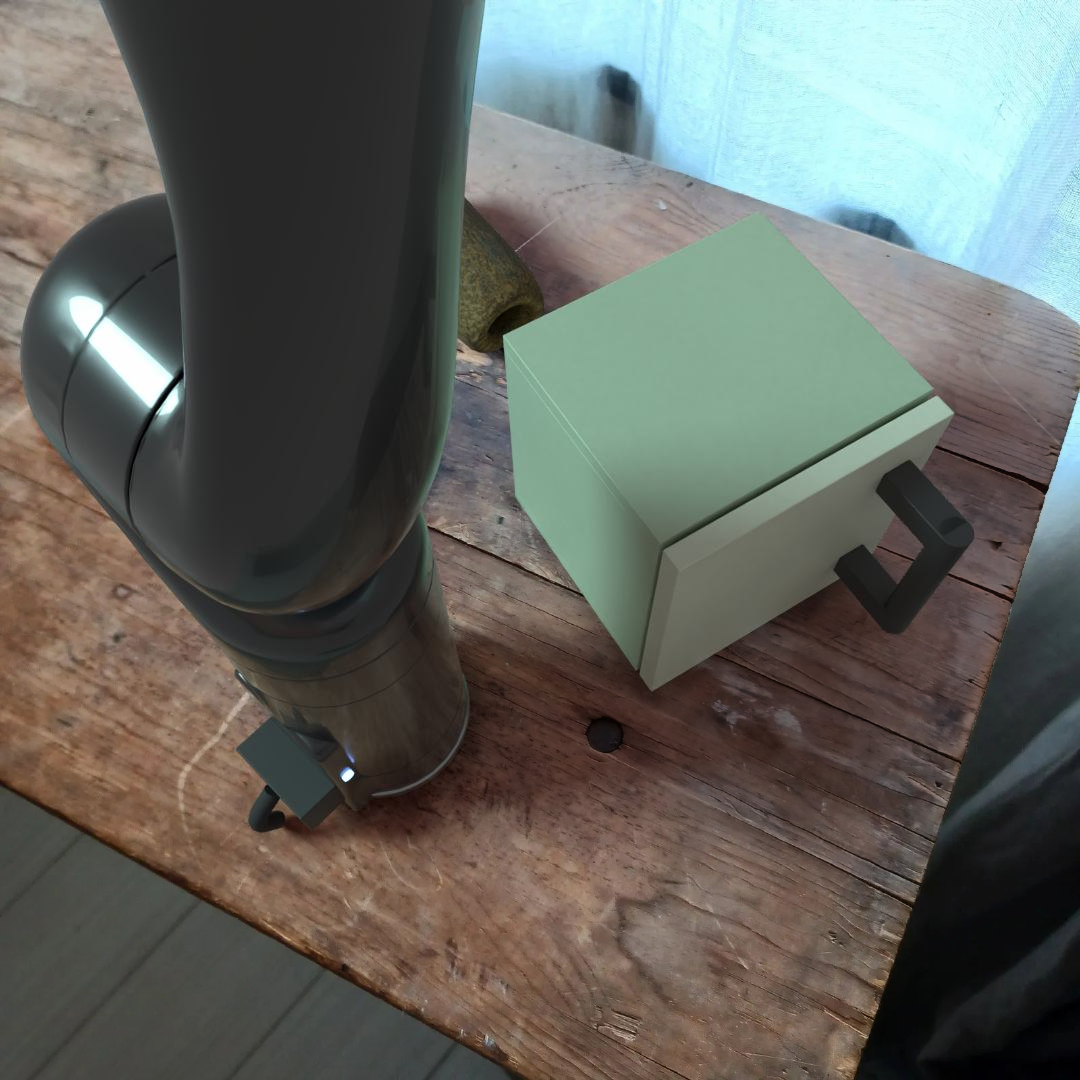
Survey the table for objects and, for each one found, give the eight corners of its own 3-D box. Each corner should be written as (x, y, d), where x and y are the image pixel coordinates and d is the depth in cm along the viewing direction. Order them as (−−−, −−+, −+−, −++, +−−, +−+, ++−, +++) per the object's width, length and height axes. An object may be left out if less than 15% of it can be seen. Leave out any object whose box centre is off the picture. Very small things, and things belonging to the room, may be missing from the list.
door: (924, 627, 57) (1032, 491, 44) (703, 767, 53) (748, 664, 40) (854, 545, 59) (937, 394, 46) (638, 674, 56) (662, 549, 43)
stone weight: (344, 249, 71) (324, 173, 65) (424, 201, 73) (412, 123, 67) (479, 382, 65) (471, 312, 59) (562, 325, 67) (562, 252, 61)
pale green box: (851, 543, 59) (935, 388, 46) (636, 671, 56) (659, 543, 43) (719, 389, 65) (760, 210, 51) (515, 497, 61) (502, 335, 48)
